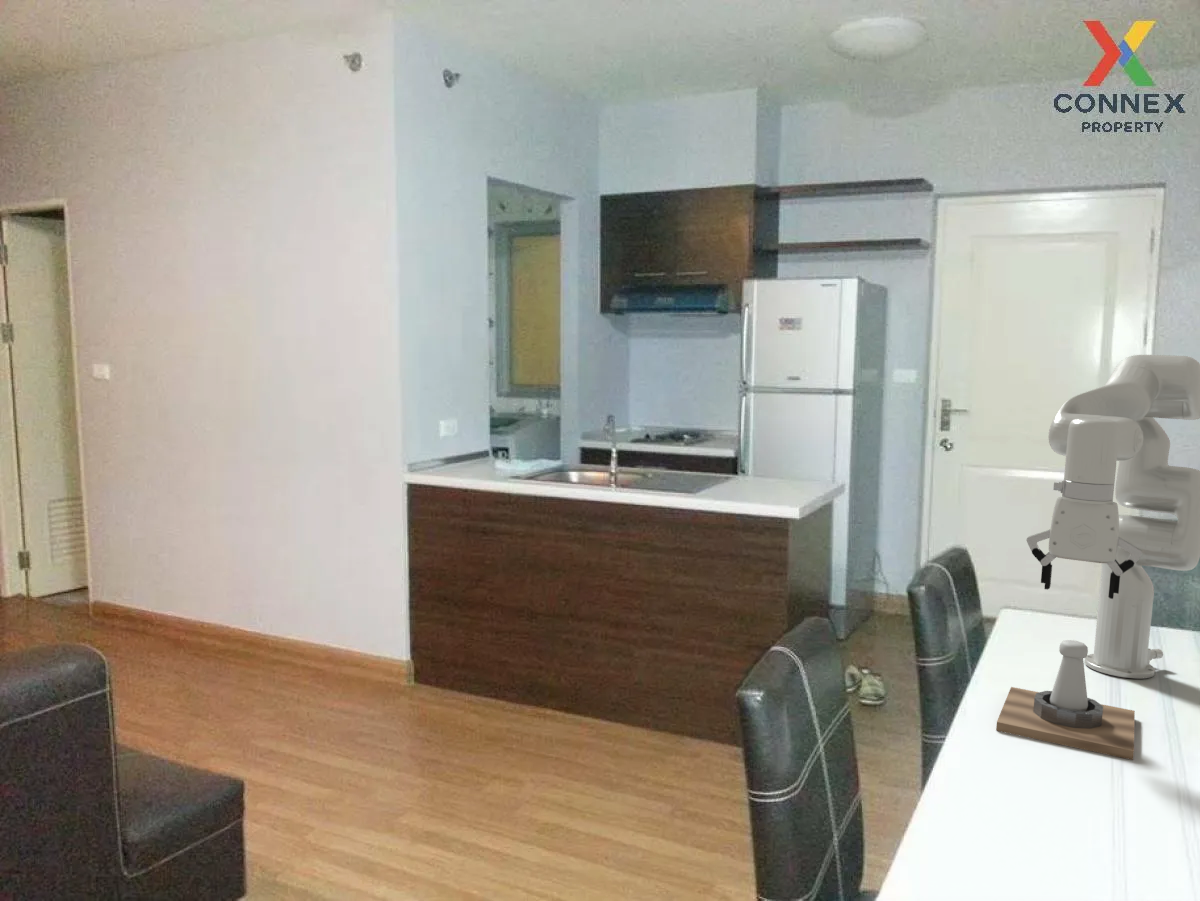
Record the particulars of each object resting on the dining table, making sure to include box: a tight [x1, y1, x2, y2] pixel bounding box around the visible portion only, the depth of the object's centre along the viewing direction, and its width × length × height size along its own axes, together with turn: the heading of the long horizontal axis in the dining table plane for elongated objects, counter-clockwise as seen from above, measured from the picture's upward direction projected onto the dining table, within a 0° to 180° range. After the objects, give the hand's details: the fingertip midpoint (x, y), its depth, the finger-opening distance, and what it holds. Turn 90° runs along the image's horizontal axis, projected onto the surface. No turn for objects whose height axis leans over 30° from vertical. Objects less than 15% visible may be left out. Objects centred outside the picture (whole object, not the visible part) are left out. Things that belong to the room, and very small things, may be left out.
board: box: [995, 686, 1136, 761], centre depth 160 cm, size 20×20×2 cm
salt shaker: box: [1050, 639, 1089, 711], centre depth 159 cm, size 6×6×13 cm
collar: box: [1033, 690, 1103, 729], centre depth 160 cm, size 10×10×2 cm
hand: (1078, 592), depth 158 cm, fingers open, 9 cm apart
